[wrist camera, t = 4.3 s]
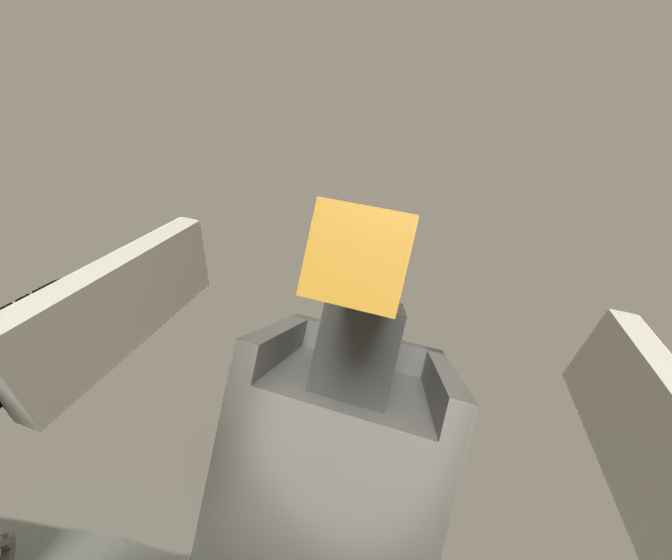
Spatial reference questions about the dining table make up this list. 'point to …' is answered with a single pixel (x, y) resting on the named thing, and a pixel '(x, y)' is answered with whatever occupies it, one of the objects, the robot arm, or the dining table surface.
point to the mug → (7, 546)
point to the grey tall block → (332, 458)
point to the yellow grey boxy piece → (356, 298)
